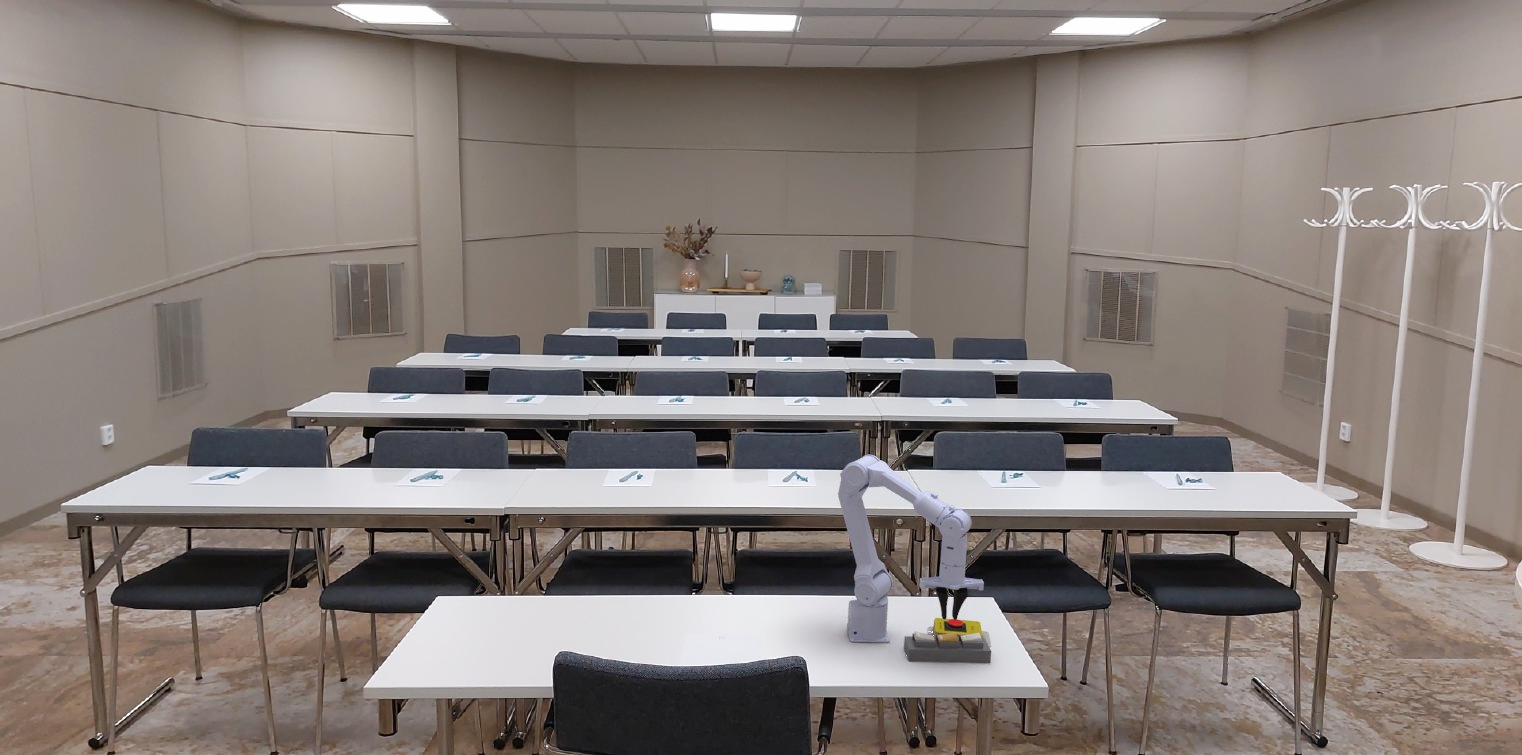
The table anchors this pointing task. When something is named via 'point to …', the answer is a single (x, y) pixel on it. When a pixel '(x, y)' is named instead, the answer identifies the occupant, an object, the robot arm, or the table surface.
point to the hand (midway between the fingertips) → (949, 617)
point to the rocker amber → (948, 637)
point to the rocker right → (971, 638)
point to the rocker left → (923, 637)
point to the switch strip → (946, 650)
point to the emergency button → (958, 628)
